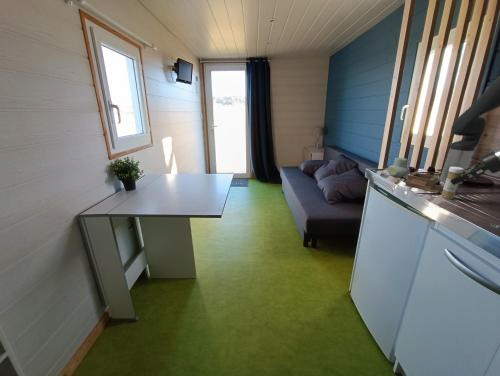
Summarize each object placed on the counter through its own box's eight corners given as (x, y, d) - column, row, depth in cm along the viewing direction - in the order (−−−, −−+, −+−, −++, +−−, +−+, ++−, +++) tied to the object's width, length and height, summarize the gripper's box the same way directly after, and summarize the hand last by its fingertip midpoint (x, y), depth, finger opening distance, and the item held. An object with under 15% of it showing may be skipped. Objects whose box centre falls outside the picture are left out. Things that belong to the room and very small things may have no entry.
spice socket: (412, 181, 122) (415, 171, 120) (443, 187, 112) (446, 177, 111) (405, 185, 114) (407, 175, 112) (437, 193, 105) (440, 182, 103)
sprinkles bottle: (455, 198, 100) (466, 168, 95) (451, 200, 97) (462, 169, 93) (442, 194, 103) (452, 165, 99) (438, 196, 101) (448, 167, 96)
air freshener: (383, 173, 135) (387, 156, 131) (395, 173, 136) (399, 156, 133) (398, 179, 125) (402, 161, 121) (411, 178, 126) (415, 160, 123)
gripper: (494, 148, 92) (448, 170, 103) (495, 153, 82) (444, 176, 94) (507, 164, 90) (459, 184, 102) (510, 170, 81) (457, 192, 92)
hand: (452, 180), depth 98 cm, fingers open, 8 cm apart
